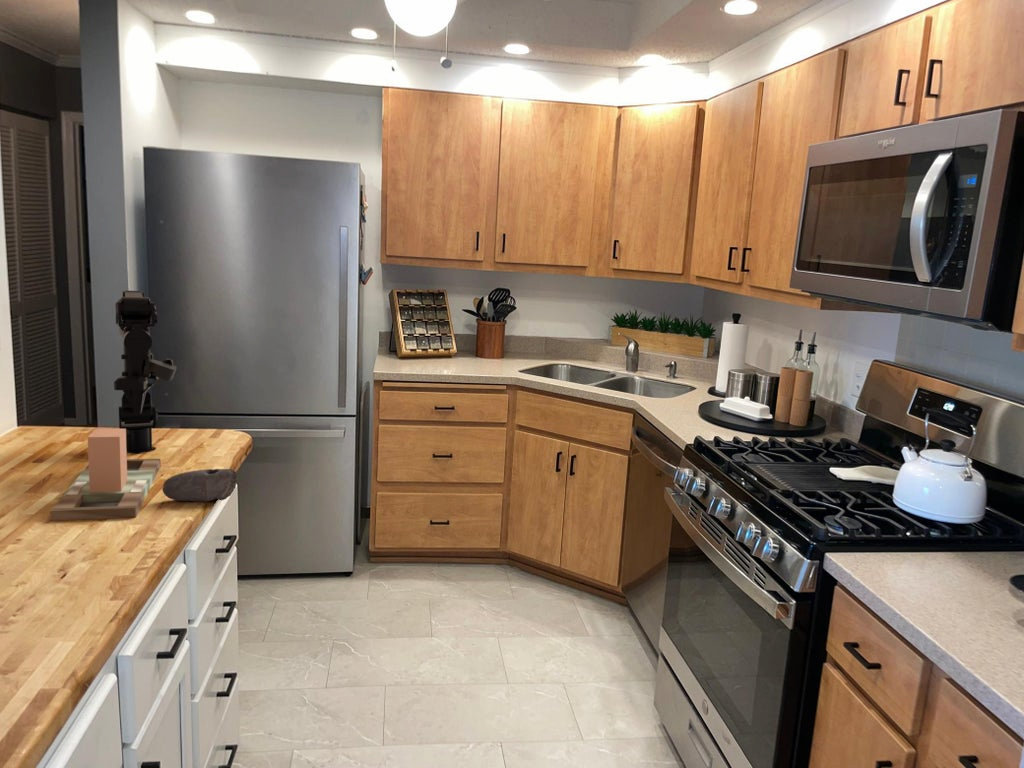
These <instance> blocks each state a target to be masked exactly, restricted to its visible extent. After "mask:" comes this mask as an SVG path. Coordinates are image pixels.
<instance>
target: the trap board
mask: <svg viewBox="0 0 1024 768" xmlns="http://www.w3.org/2000/svg"><path fill="white" fill-rule="evenodd" d="M161 467H162V465H161V458H127V482H126V484H125V486H124V487H123V489H122V491H113V492H90V487H89V463H88V464H87V466H86V467H85V468H84V469H83V471H82V472H81V473H80V474H79V475H78V477H77V478H76V479H75V480H74V482H73V483H72V484H71V485H70V487H69V488H68V489H67V491H65V493H64V494H63V495H62V496H61V498H60V499H59V500H58V501H57V503H56V504H55V505H54V506H53V508H52V509H51V510H50V521H54V522H55V521H74V520H75V521H76V520H77V521H78V520H99V519H101V520H103V519H105V520H106V519H128V518H136V517H137V516H138V513H139V511H140V509H141V507H142V505H143V503H144V501H145V499H146V497H147V495H148V493H149V491H150V489H151V487H152V485H153V483H154V481H155V479H156V477H157V475H158V474H159V472H160V471H159V470H160V468H161Z"/></svg>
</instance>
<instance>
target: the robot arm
mask: <svg viewBox="0 0 1024 768" xmlns="http://www.w3.org/2000/svg"><path fill="white" fill-rule="evenodd" d="M114 305H115V309H114V310H115V325H118V333H119V334H120V336H122V345H123V347H122V348H123V354H121V356H120V357H121V360H123V371H121V376H120V377H118V378H117V379H116V380H115V381H114V382H113V390H114V391H122V392H123V394H122V397H121V406H119V405H118V429H126V452H127V453H128V454H133V455H138V454H142V453H146V452H151V451H155V450H157V447H156V446H153V433H152V432H153V431H152V429H155V428H156V427H158V425H159V423H158V418H159V415H158V413H159V410H158V409H157V408H156V406H155V405H154V404H153V401H152V395H151V394H150V392H148V391H149V390H150V388H152V387H153V386H154V385H155V383H151V382H150V383H149V382H148V379H149V380H150V379H153V380H154V381H158V380H160V379H162V380H163V381H165V382H171V381H172V380H173V378H174V376H175V374H176V372H177V369H178V368H177V365H175V363H174V360H173V359H170V358H166V359H164V360H163V361H161V360H156V359H154V354H153V353H152V352H151V347H152V346H153V345H152V344H153V339H152V337H151V334H150V330H149V328H155V326H156V325H155V324H158V312H157V307H156V305H155V303H154V302H153V301H151V298H150V297H148V296H147V297H145V293H144V291H142V290H125V291H122V296H121V297H120V299H118V300H117V301H116V302H115V303H114Z"/></svg>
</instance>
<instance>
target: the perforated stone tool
mask: <svg viewBox="0 0 1024 768" xmlns="http://www.w3.org/2000/svg"><path fill="white" fill-rule="evenodd" d="M237 473H238V472H237V471H235V470H234V469H233V468H213V469H212V468H211V469H210V468H207V469H199V470H191V471H187V472H182V473H178V474H175V475H173V476H170V477H169V478H167V479H166V480H165V481H164V482H163V485H162V488H161V489H162V492H163V495H165V496H166V497H167V498H168V499H170V500H174V501H178V502H186V501H189V500H190V502H191V501H194V503H198V502H201V503H205V502H211V501H215V500H218V501H224V500H226V499H228V497H231V495H232V494H233V493H234V491H235V489H236V487H237V482H238V479H237V475H238V474H237ZM196 501H198V502H196Z"/></svg>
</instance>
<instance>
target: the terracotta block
mask: <svg viewBox="0 0 1024 768" xmlns="http://www.w3.org/2000/svg"><path fill="white" fill-rule="evenodd" d="M127 453H128V452H126V429H119V428H94V430H93V431H92V432H91V433H90V434H89V435H88V436H87V455H88V456H87V457H88V461H87V462H88V464H89V487H90V492H113V491H122V489H123V487H124V486H125V484H126V482H127V459H128V457H127V456H128V455H127Z"/></svg>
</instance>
